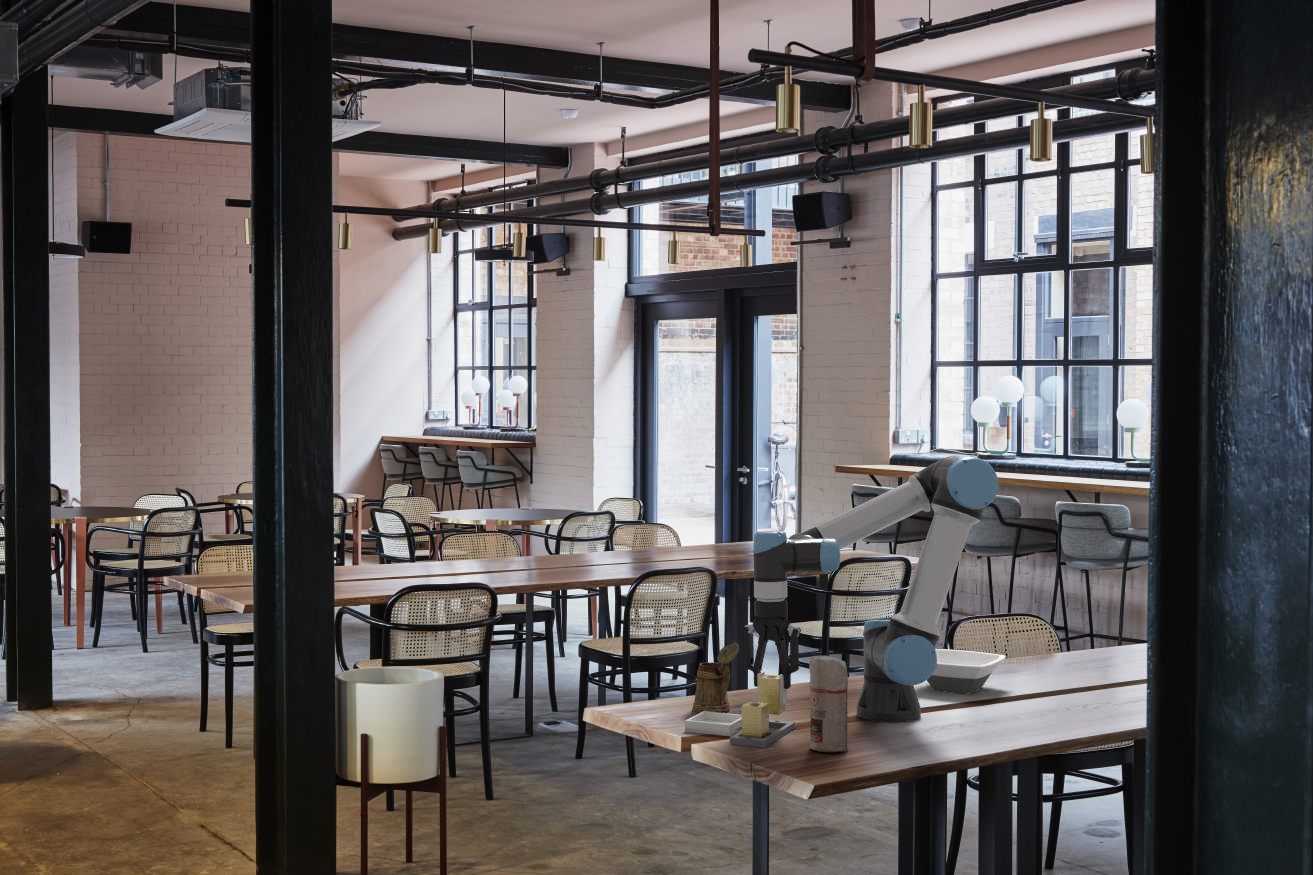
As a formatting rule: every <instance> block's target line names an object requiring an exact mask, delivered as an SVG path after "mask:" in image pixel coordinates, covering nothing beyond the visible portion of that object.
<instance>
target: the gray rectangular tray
mask: <svg viewBox="0 0 1313 875" xmlns="http://www.w3.org/2000/svg"><path fill="white" fill-rule="evenodd" d="M795 729H796V722H795V721H786V720H777V719H776V720H774V719H769V736H767V737H765V738H764V739H762V738H752V737H743V736H742V730H741V731H739V732H737V733H735V734H734V735H732V736H729V744H730V745H739V746H744V747H745V746H746V747H755V748H765V749H766V747H768V746H770V745H772V743H774V742H776V741H778V739H781V738H782V737H784V736H786V735H787V734H788V733H790V732H792V731H794V730H795Z"/></svg>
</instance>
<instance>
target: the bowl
mask: <svg viewBox="0 0 1313 875" xmlns="http://www.w3.org/2000/svg"><path fill="white" fill-rule="evenodd" d="M935 650H936V654H937V665H936V668H935V670H934V672H933V674H932V675H931V676H930V677H929V678H928V679H927V680H926V682H927V683H928V684H929V686H930V687H931V688H932V690H933V689H934V690H933V691H937V690H940V691H939V692H943V691H945V693H951V692H953V693H954V694H963V693H970V694H973V692H974V693H976V692H977V691H980V690H981V689H982V688H983V686H984V685H985V683H986V682H987V680H988V679H989V678H990V676H991V675H992V673H993V672H994V671H996V670H997V669H998V667H999V666H1000V665H1001V664H1002V662H1004V661H1005V658H1006V655H1005V654H996V653H991V652H982V651H973V650H972V651H971V650H962V649H961V650H958V649H946V648H941V649H940V648H935ZM979 689H980V690H979Z"/></svg>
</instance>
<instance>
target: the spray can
mask: <svg viewBox="0 0 1313 875" xmlns="http://www.w3.org/2000/svg"><path fill="white" fill-rule="evenodd" d="M808 669H809V689H810V691H809V692H810V695H809V696H810V699H809V700H810V701H809V702H810V704H809V705H810V706H809V707H810V713H809V715H810V716H809V717H810V736H809V737H810V744H809V747H808V748H809V749H810V750H811V751H816V752H818V753H819V752H820V753H838V752H847V751H848V750H849V748H848V722H849V721H848V718H849V717H848V716H849V715H848V714H849V713H848V712H849V711H848V706H849V705H848V695H849V694H848V686H849V680H848V679H849V678H848V670H847V669H848V668H847V663H846V661H845V660H841V659H840V658H838V657H834V656H829V655H814V656H811V658H810V660H809V668H808Z"/></svg>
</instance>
